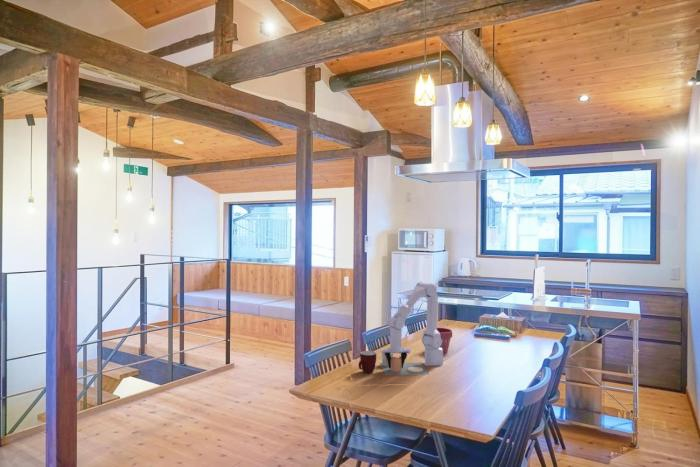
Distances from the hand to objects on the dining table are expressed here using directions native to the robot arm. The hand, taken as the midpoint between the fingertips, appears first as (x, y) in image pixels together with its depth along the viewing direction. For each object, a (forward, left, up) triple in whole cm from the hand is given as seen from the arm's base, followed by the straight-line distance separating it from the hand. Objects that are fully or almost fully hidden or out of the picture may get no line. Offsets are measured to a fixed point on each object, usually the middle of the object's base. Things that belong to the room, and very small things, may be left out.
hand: (395, 367), depth 229 cm
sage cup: (+3, -9, -1) cm, 10 cm away
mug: (+15, +3, -2) cm, 15 cm away
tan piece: (0, 0, -1) cm, 1 cm away
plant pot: (-32, -36, -2) cm, 48 cm away
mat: (-5, -3, -2) cm, 5 cm away
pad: (-10, 0, -1) cm, 10 cm away
